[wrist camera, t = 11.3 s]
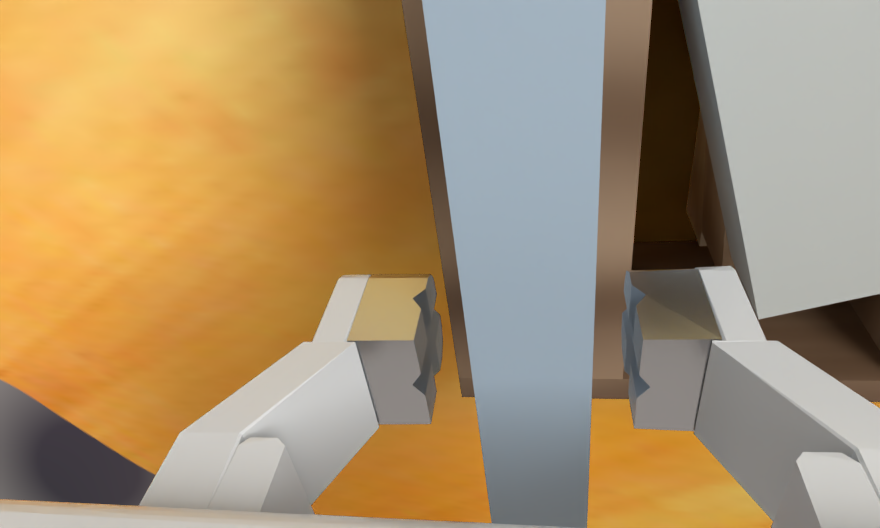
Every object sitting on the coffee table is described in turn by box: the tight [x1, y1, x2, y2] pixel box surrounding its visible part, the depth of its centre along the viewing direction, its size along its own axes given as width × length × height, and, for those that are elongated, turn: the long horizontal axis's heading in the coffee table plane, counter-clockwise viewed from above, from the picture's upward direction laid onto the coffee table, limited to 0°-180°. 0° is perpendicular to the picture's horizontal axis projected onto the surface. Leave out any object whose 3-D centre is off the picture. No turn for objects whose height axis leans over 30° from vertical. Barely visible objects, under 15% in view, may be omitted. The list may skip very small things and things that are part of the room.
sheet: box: [422, 0, 606, 528], centre depth 15 cm, size 14×2×17 cm, turn 7°
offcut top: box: [678, 0, 880, 319], centre depth 15 cm, size 12×5×3 cm, turn 24°
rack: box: [402, 0, 880, 402], centre depth 17 cm, size 21×20×8 cm
